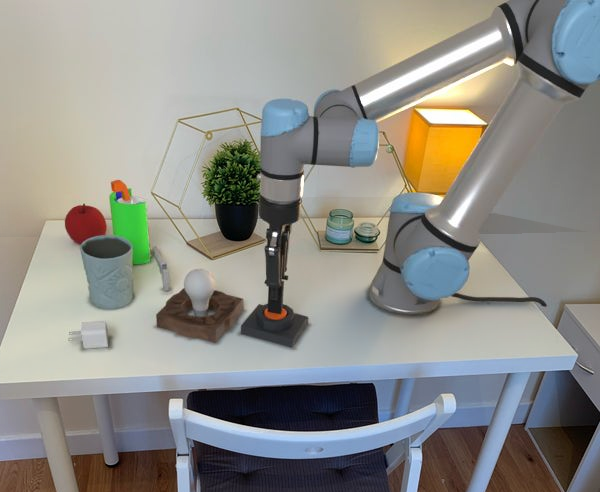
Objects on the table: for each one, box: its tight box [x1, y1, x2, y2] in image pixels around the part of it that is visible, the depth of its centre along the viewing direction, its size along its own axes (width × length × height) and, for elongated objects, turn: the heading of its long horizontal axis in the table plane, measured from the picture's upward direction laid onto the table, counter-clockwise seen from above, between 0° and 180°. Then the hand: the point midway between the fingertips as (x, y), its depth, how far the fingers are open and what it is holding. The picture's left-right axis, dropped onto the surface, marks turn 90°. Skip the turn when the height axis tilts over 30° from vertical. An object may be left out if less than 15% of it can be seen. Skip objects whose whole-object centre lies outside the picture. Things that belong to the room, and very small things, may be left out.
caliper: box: [151, 245, 170, 292], centre depth 147 cm, size 21×1×6 cm, turn 17°
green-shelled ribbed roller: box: [108, 179, 152, 265], centre depth 147 cm, size 9×8×18 cm
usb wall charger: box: [67, 320, 109, 350], centre depth 124 cm, size 4×7×4 cm, turn 102°
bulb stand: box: [155, 287, 245, 344], centre depth 133 cm, size 14×14×3 cm
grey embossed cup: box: [79, 234, 134, 310], centre depth 134 cm, size 10×10×12 cm
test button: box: [264, 308, 287, 320], centre depth 131 cm, size 4×4×2 cm
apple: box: [64, 203, 108, 245], centre depth 153 cm, size 9×9×10 cm
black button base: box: [240, 303, 309, 348], centre depth 132 cm, size 11×9×4 cm
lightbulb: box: [183, 268, 216, 317], centre depth 131 cm, size 6×6×11 cm
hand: (274, 310), depth 130 cm, fingers closed
